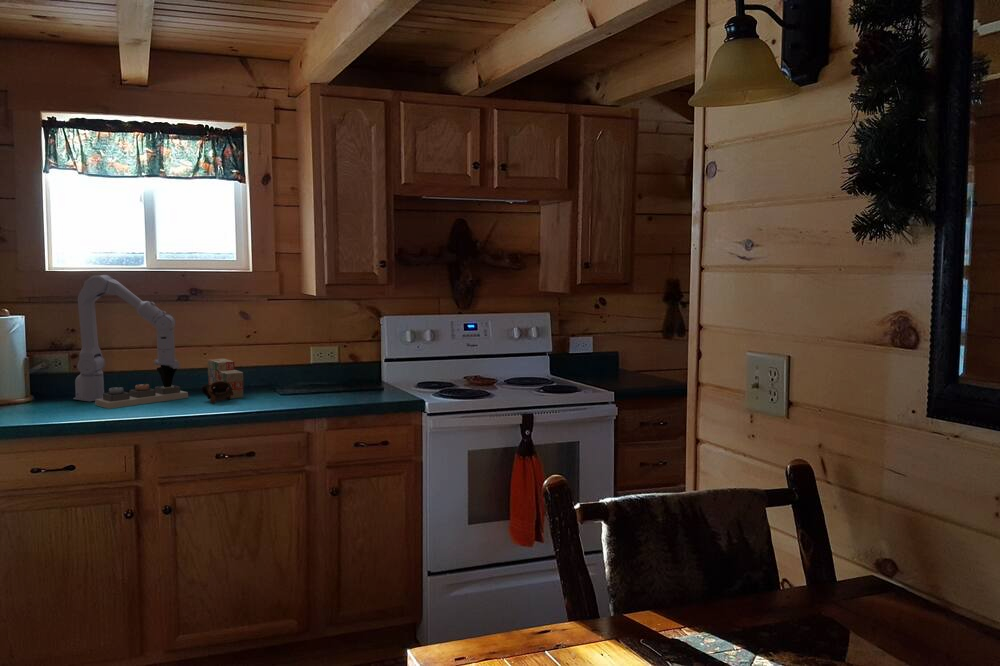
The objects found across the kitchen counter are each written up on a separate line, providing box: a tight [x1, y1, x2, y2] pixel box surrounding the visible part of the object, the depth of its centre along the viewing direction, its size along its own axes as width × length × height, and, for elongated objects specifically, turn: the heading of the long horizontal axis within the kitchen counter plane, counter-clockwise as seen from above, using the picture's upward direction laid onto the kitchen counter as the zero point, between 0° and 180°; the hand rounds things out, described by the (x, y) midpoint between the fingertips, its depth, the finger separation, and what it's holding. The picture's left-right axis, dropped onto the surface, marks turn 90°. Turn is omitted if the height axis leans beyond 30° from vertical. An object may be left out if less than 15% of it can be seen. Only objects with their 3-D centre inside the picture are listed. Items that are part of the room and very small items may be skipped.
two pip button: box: [108, 386, 124, 394], centre depth 271 cm, size 4×4×2 cm
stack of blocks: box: [206, 358, 244, 400], centre depth 293 cm, size 21×6×12 cm, turn 37°
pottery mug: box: [201, 381, 234, 405], centre depth 278 cm, size 12×10×8 cm
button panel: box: [94, 384, 189, 410], centre depth 278 cm, size 28×10×4 cm, turn 139°
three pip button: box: [135, 383, 150, 391], centre depth 278 cm, size 4×4×2 cm
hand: (167, 386), depth 285 cm, fingers closed, pressing on one pip button
